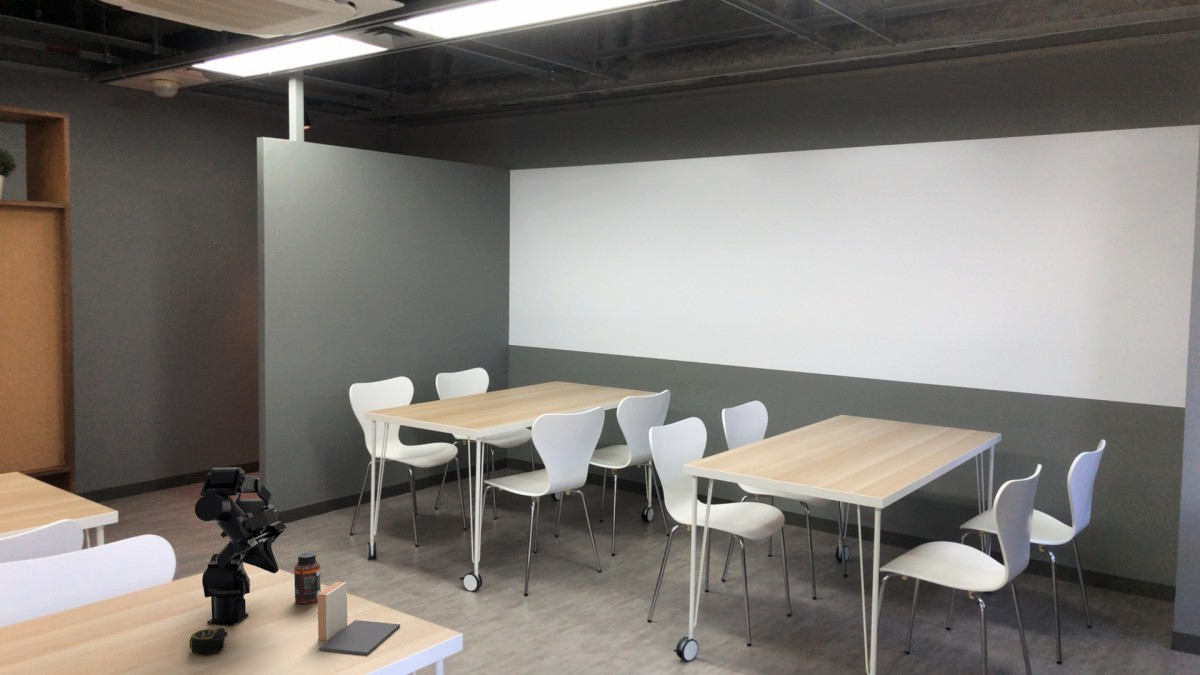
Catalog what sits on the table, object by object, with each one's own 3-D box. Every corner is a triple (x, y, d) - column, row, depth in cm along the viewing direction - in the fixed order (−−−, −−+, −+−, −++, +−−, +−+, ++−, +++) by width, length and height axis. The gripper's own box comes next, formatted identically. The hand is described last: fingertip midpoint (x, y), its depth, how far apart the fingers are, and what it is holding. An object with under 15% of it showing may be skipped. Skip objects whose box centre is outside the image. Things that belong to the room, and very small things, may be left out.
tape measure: (223, 655, 175) (223, 638, 175) (187, 660, 173) (186, 642, 173) (227, 642, 182) (227, 625, 182) (192, 646, 180) (191, 629, 179)
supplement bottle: (326, 599, 206) (325, 553, 206) (304, 606, 202) (303, 560, 201) (310, 594, 210) (310, 549, 209) (289, 601, 205) (288, 555, 204)
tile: (318, 639, 183) (317, 594, 182) (337, 625, 191) (336, 581, 190) (328, 640, 182) (327, 594, 182) (347, 625, 190) (346, 582, 190)
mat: (319, 650, 177) (319, 647, 177) (355, 622, 192) (355, 620, 192) (367, 655, 175) (367, 652, 175) (399, 626, 190) (399, 624, 190)
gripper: (226, 506, 180) (274, 561, 178) (278, 486, 198) (322, 536, 196) (195, 541, 182) (241, 595, 180) (249, 518, 200) (292, 567, 199)
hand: (276, 571), depth 189 cm, fingers closed
